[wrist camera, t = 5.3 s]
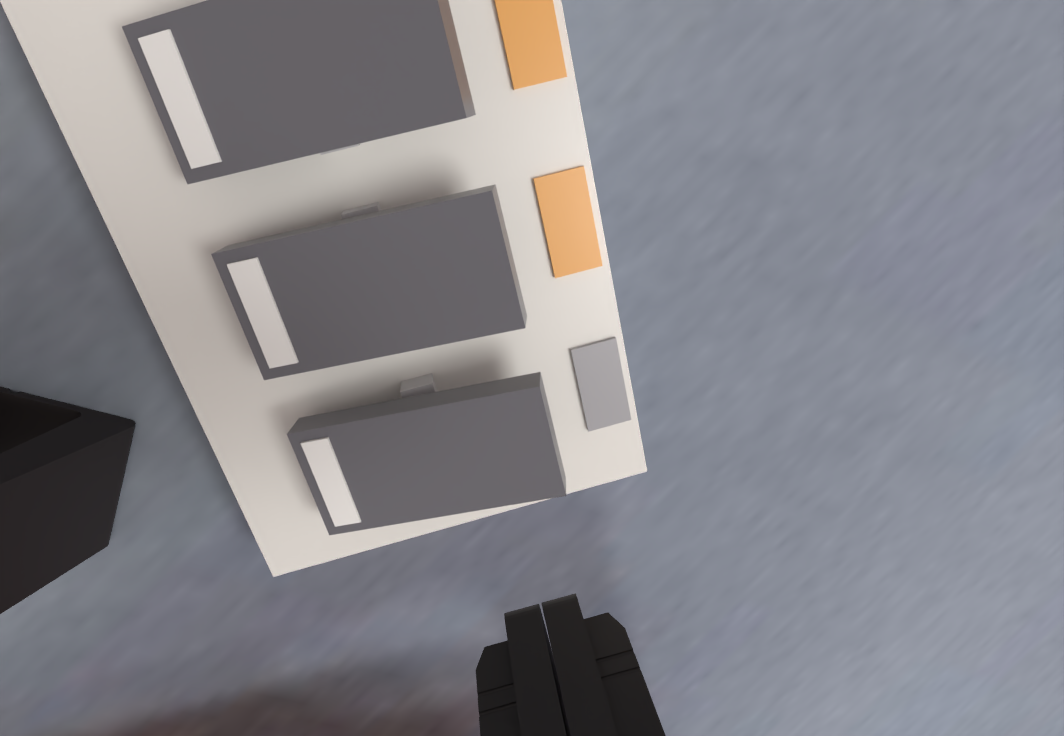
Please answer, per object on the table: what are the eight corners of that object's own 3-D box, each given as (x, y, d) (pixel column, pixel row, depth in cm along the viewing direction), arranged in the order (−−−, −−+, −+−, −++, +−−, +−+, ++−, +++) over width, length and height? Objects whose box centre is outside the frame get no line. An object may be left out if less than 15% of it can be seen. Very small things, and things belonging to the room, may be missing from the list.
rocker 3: (298, 417, 24) (285, 435, 23) (540, 371, 23) (539, 388, 22) (338, 516, 26) (328, 537, 25) (565, 477, 25) (566, 497, 24)
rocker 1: (149, 28, 20) (119, 26, 18) (434, -58, 18) (420, -66, 17) (210, 177, 21) (185, 184, 20) (476, 114, 19) (465, 118, 18)
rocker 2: (228, 245, 22) (209, 254, 21) (495, 184, 21) (491, 190, 19) (277, 366, 23) (262, 381, 22) (526, 315, 22) (525, 329, 21)
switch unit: (41, -13, 22) (-38, -38, 18) (519, -121, 22) (538, -166, 19) (287, 533, 30) (268, 593, 26) (627, 438, 31) (654, 483, 27)
